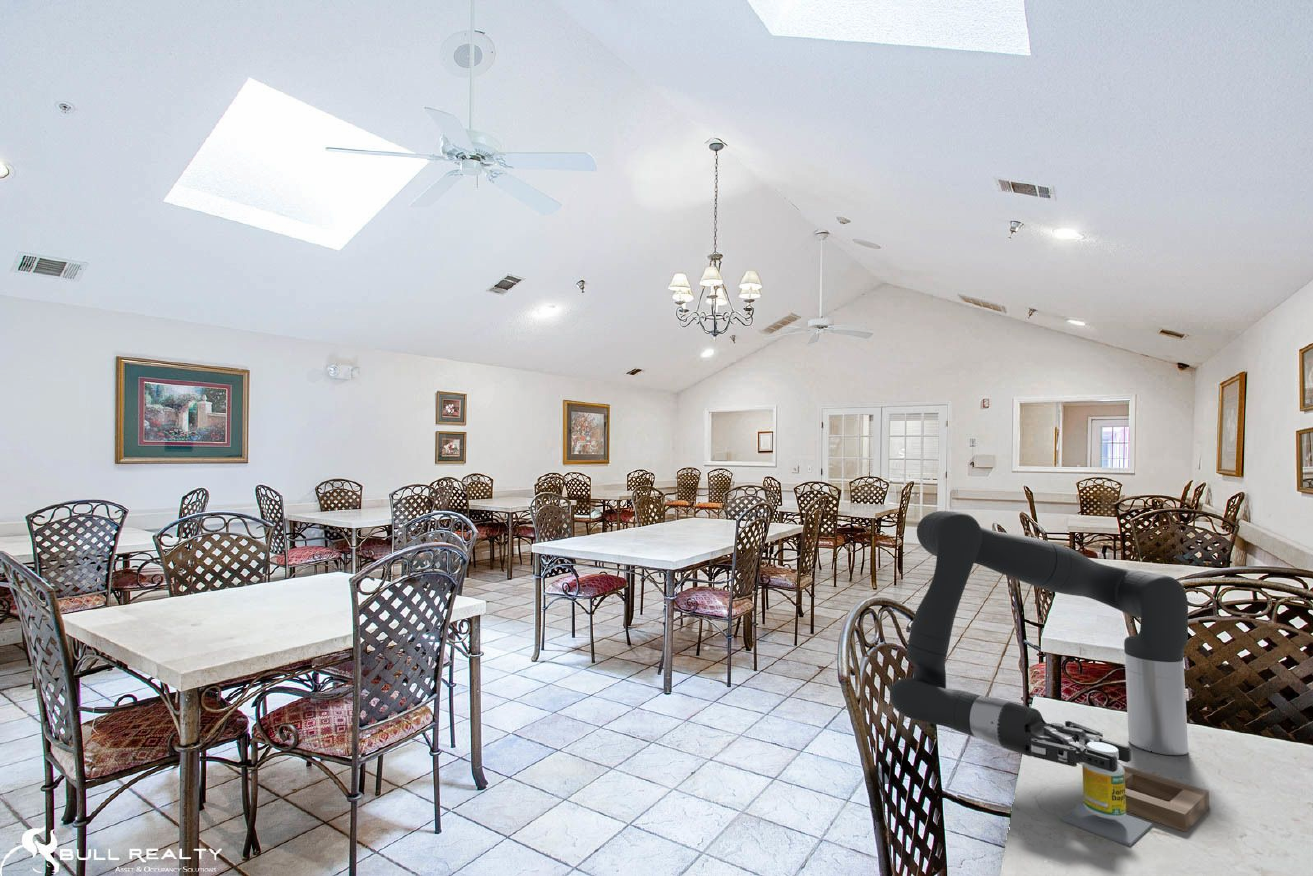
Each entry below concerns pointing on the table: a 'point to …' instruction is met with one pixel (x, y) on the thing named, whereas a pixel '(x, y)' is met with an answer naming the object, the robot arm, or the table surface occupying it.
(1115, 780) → the supplement bottle
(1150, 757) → the table surface
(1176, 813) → the socket block
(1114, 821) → the rubber mat
